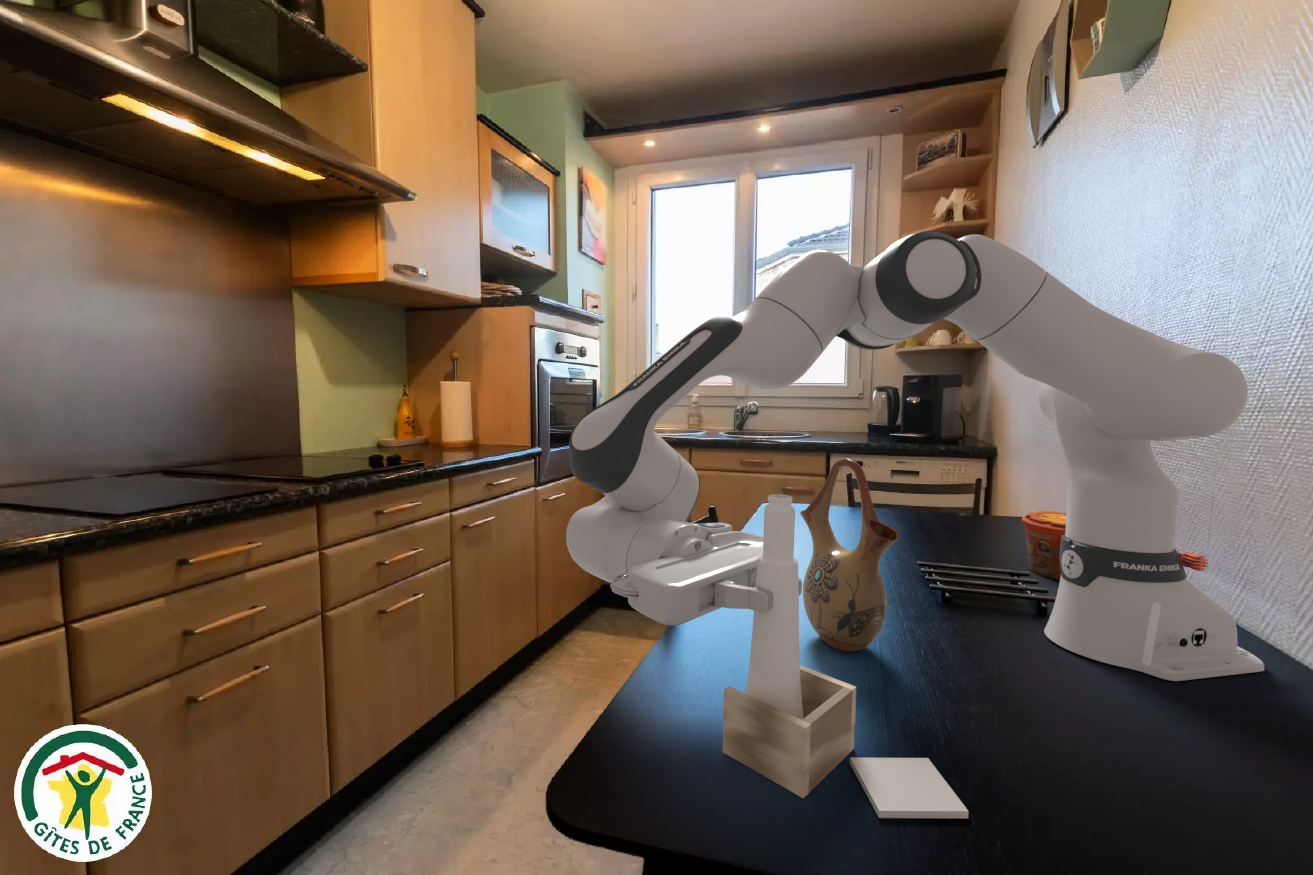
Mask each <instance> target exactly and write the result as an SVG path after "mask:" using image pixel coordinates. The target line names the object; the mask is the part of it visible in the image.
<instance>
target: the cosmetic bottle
mask: <svg viewBox="0 0 1313 875" xmlns="http://www.w3.org/2000/svg"><path fill="white" fill-rule="evenodd" d="M767 502H768V504H767V505H765V506H764V511H763V536H762V537H763V555H762V556H760V557H759V559H758V567H757V578H756V586H759V587H761V588H763V589H766V590H770V591H771V592H772V593H773V607H772V608H771V609H770V610H768V611H766V612H764V613H760V612H757V611H754V610H753V619H752V628H751V629H752V630H751V644H750V654H749V663H748V664H749V665H748V672H747V680H746V688H745V692H744V693H745V694H747V695H749V696H751V697H754V698H756V699H758V700H760V701H762V702H764V703H766V704H769V705H771V706H773V707H775V708H777V709H779V710H782V711H784V712H786V713H788V714H790V715H792V716H794V717H797V718H799V719H801V720H803V719H804V715H803V707H802V697H801V684H800V665H801V664H800V663H801V662H800V660H801V659H800V602H799V601H800V596H799V582H798V578H799V561H798V559H796V558H795V557H794V555H795V554H794V550H795V526H796V509H795V507H794V506H793V505H792V503H793V496H790V495H786V494H779V493H778V494H769V495H768V496H767Z"/></svg>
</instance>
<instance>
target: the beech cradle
mask: <svg viewBox="0 0 1313 875" xmlns="http://www.w3.org/2000/svg"><path fill="white" fill-rule="evenodd" d="M800 684H801V697H802V707H803V715H804V719H803V720H801V719H799V718H797V717H794V716H792V715H790V714H788V713H786V712H784V711H782V710H779V709H777V708H775V707H773V706H771V705H769V704H766V703H764V702H762V701H760V700H758V699H756V698H754V697H751V696H749V695H747V694H745V693H746V692H743V691H742V690H741V691H740V690H739V689H736V688H734V687H732V686H730V685H729V686H727V687H726V688H724V689H723V714H722V715H723V718H722V719H723V720H722V721H723V724H722V726H723V727H722V753H723V754H725V755H726V756H729V757H730V758H732V759H733V760H736V761H737V762H739V763H741V764H742V765H745V766H746V767H748V768H750V769H751V770H752V771H755V772H756V773H759V774H760V775H762V776H763V777H765V778H767V779H769V780H770V781H773V782H774V783H775V784H777V785H779V786H780V787H783V788H784V789H786V790H788V791H789V792H791V793H793V794H794V795H796V796H798V797H800V798H802V799H804V798H805V797H807V796H808V795H809V794H810V793H811V792H812V791H813V790H814V789H815V788H816V787H817V786H818V785H819V784H820V783H821V782H822V781H823V780H824V779H825V778H826V777H827V776H828V775H829V774H830V773H831V772H832V771H833V770H834V769H835V768H836V767H837V766H839V764H840V763H841V762H842V761H843V760H844V759H845V758H846V757H847V756H848V755H849V754H850V753H851V752H852V751H853V750H855V732H856V731H855V728H856V710H857V709H856V705H857V704H856V703H857V686H855V685H854V684H850V683H848V682H844V681H843V680H840V679H837V678H834V677H832V676H829V675H827V674H825V673H822V672H819V671H817V670H814V669H812V668H808V667H807V666H803V665H801V664H800Z"/></svg>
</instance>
